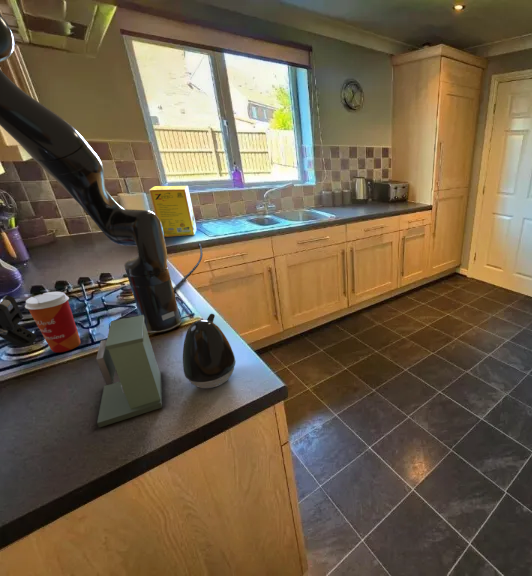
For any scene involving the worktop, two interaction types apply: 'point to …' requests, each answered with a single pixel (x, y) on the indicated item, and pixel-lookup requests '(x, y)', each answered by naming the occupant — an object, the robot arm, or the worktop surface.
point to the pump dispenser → (207, 355)
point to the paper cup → (54, 320)
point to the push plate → (105, 363)
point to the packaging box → (174, 210)
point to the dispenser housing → (130, 373)
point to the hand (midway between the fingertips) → (29, 341)
